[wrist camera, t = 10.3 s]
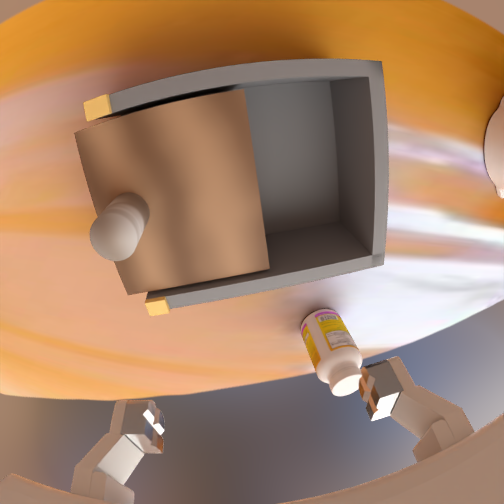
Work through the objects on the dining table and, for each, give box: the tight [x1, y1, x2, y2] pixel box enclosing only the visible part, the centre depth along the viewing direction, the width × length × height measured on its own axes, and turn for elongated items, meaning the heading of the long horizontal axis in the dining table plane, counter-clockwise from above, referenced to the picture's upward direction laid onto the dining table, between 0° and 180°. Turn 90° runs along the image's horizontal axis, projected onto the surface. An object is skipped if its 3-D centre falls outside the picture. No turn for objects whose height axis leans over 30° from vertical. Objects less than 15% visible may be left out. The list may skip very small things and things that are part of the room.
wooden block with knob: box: [74, 89, 270, 295], centre depth 25 cm, size 14×16×13 cm
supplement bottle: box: [301, 309, 362, 396], centre depth 39 cm, size 7×7×13 cm
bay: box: [83, 59, 389, 316], centre depth 27 cm, size 24×20×11 cm
